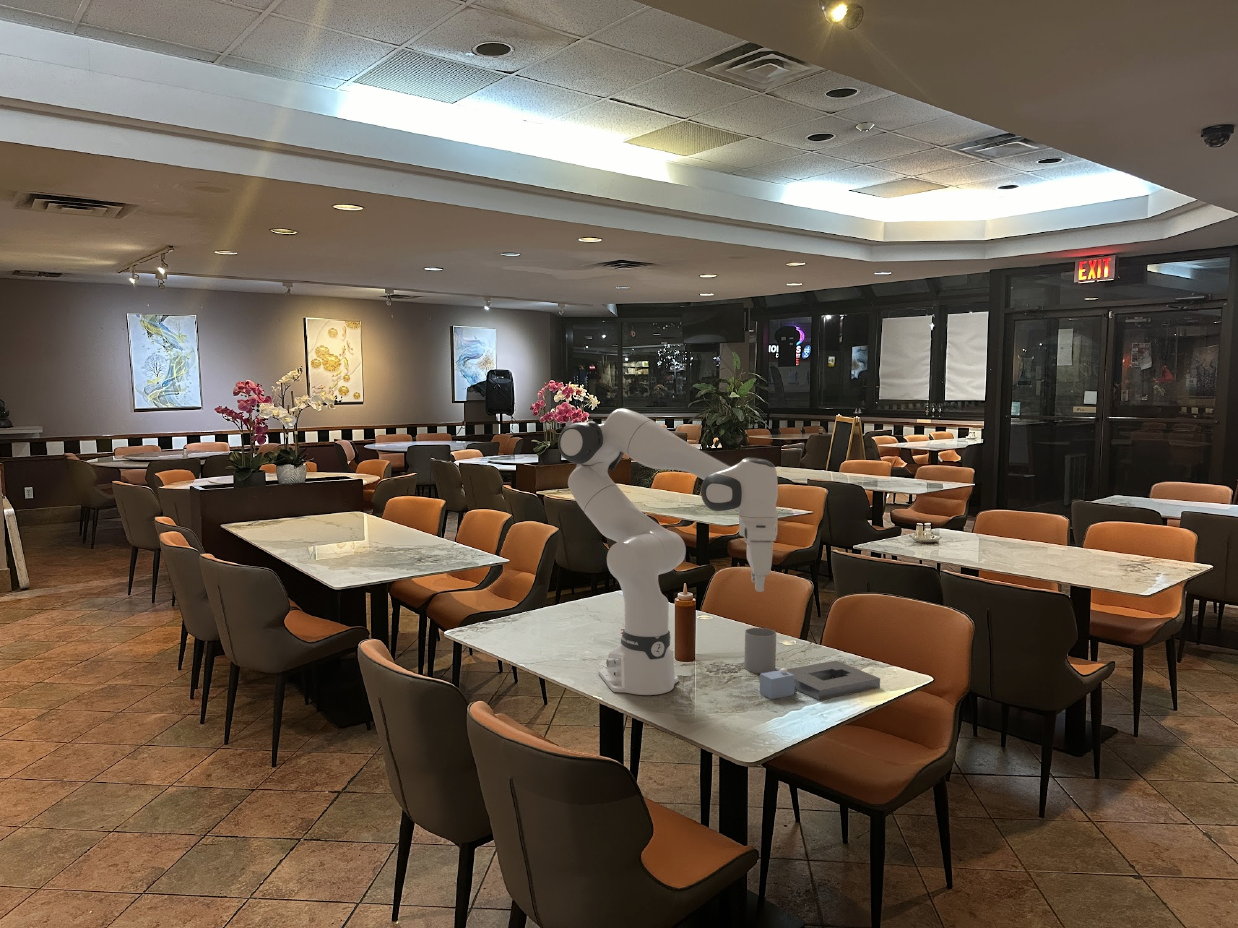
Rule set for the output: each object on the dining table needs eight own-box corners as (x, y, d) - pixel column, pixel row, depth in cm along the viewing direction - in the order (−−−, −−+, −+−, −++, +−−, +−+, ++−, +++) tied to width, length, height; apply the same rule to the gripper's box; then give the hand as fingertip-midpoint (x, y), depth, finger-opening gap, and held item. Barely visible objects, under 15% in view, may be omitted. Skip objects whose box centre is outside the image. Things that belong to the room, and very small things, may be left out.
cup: (741, 670, 218) (742, 634, 217) (747, 661, 226) (748, 626, 225) (772, 674, 215) (773, 637, 214) (777, 665, 223) (778, 629, 222)
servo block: (759, 693, 201) (760, 669, 200) (786, 688, 205) (787, 664, 204) (771, 699, 197) (771, 675, 196) (798, 693, 201) (799, 670, 200)
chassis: (777, 680, 210) (777, 670, 210) (835, 669, 220) (836, 660, 220) (818, 700, 196) (819, 690, 196) (879, 687, 206) (880, 678, 205)
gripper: (741, 521, 199) (740, 577, 200) (748, 534, 178) (747, 596, 179) (767, 521, 198) (766, 577, 199) (777, 534, 178) (776, 596, 179)
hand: (757, 586), depth 189 cm, fingers open, 8 cm apart
